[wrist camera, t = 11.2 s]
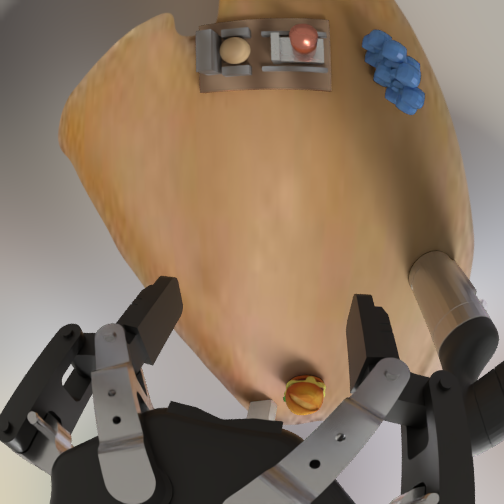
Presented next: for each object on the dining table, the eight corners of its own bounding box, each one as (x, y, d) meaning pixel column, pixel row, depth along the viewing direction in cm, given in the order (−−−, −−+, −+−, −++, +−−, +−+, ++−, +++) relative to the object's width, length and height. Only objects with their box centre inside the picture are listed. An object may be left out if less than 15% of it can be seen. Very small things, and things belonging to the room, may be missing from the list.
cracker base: (327, 23, 26) (331, 8, 21) (330, 91, 32) (334, 87, 26) (202, 28, 29) (186, 17, 24) (203, 93, 35) (187, 90, 29)
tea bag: (250, 401, 70) (243, 431, 61) (271, 399, 67) (266, 430, 58) (256, 407, 71) (250, 436, 62) (277, 405, 68) (272, 435, 60)
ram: (322, 39, 27) (326, 21, 20) (323, 65, 28) (328, 52, 21) (273, 38, 28) (264, 20, 21) (274, 64, 30) (265, 51, 23)
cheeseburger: (287, 395, 65) (281, 422, 55) (284, 365, 62) (278, 392, 53) (325, 395, 62) (323, 423, 53) (326, 364, 60) (325, 392, 50)
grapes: (420, 106, 29) (460, 108, 19) (381, 118, 32) (411, 121, 21) (387, 35, 25) (415, 10, 15) (346, 45, 28) (362, 19, 17)
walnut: (252, 40, 28) (246, 32, 25) (253, 65, 30) (247, 60, 27) (224, 42, 29) (215, 35, 26) (224, 67, 31) (215, 62, 28)
